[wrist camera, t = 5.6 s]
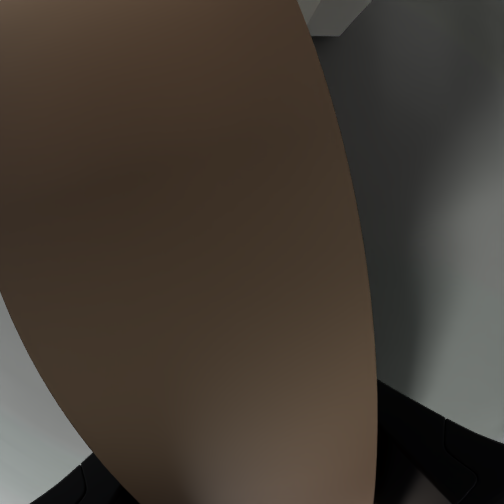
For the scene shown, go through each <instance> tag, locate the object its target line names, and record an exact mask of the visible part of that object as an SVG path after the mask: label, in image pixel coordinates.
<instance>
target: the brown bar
mask: <svg viewBox="0 0 504 504" xmlns="http://www.w3.org/2000/svg"><path fill="white" fill-rule="evenodd" d="M0 292H1V295H2V297H3V300H4V302H5V305H6V307H7V309H8V312H9V314H10V316H11V319H12V321H13V323H14V325H15V328H16V330H17V332H18V334H19V336H20V338H21V340H22V342H23V344H24V346H25V348H26V350H27V352H28V354H29V356H30V358H31V360H32V362H33V363H34V365H35V367H36V369H37V371H38V372H39V374H40V376H41V378H42V379H43V381H44V383H45V384H46V386H47V388H48V389H49V391H50V393H51V394H52V396H53V397H54V399H55V400H56V402H57V403H58V405H59V407H60V408H61V410H62V411H63V412H64V414H65V415H66V417H67V418H68V420H69V421H70V423H71V424H72V425H73V427H74V428H75V429H76V431H77V432H78V434H79V435H80V436H81V438H82V439H83V440H84V441H85V443H86V444H87V445H88V447H89V448H90V449H91V450H92V452H93V453H94V454H95V455H96V456H97V458H98V459H99V460H100V461H101V462H102V464H103V465H104V466H105V467H106V468H107V469H108V470H109V472H110V473H111V474H112V475H113V476H114V477H115V478H116V479H117V480H118V481H119V483H120V484H121V485H122V486H123V487H124V488H125V489H126V490H127V491H128V492H129V493H130V494H131V495H132V496H133V497H134V498H135V499H136V500H137V501H138V502H139V503H140V504H373V501H374V490H375V476H376V458H377V373H376V354H375V339H374V326H373V315H372V305H371V295H370V287H369V279H368V271H367V264H366V257H365V250H364V243H363V237H362V231H361V225H360V219H359V214H358V209H357V203H356V198H355V193H354V188H353V183H352V179H351V174H350V169H349V165H348V161H347V156H346V152H345V148H344V144H343V140H342V136H341V132H340V128H339V124H338V121H337V117H336V113H335V110H334V106H333V103H332V99H331V96H330V92H329V89H328V86H327V83H326V79H325V76H324V73H323V70H322V67H321V64H320V61H319V58H318V55H317V52H316V49H315V46H314V43H313V41H312V38H311V35H310V32H309V30H308V27H307V24H306V22H305V19H304V17H303V14H302V11H301V9H300V6H299V4H298V2H297V0H0Z"/></svg>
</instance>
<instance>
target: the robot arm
mask: <svg viewBox="0 0 504 504" xmlns="http://www.w3.org/2000/svg"><path fill="white" fill-rule="evenodd" d="M30 504H140V503H139V502H138V501H137V500H136V499H135V498H134V497H133V496H132V495H131V494H130V493H129V492H128V491H127V490H126V489H125V488H124V487H123V486H122V485H121V484H120V483H119V481H118V480H117V479H116V478H115V477H114V476H113V475H112V474H111V473H110V472H109V470H108V469H107V468H106V467H105V466H104V465H103V464H102V462H101V461H100V460H99V459H98V458H97V456H96V455H95V454H94V453H92V454H91V455H90V456H88V457H87V458H86V459H85V460H84V461H83V462H82V463H81V465H78V466H77V467H76V468H75V469H74V470H73V471H72V472H71V473H70V474H68V475H67V476H66V477H65V478H64V479H62V480H61V481H60V482H59V483H58V484H56V485H55V486H54V487H53V488H51V489H50V490H48V491H47V492H46V493H44V494H43V495H42V496H40V497H39V498H37V499H36V500H34V501H33V502H31V503H30ZM373 504H504V444H503V443H500V442H497V441H495V440H492V439H490V438H487V437H485V436H482V435H480V434H477V433H475V432H473V431H471V430H469V429H467V428H465V427H463V426H461V425H459V424H457V423H455V422H453V421H451V420H449V419H446V420H445V417H443V416H441V415H440V414H438V413H436V412H434V411H432V410H430V409H429V408H427V407H425V406H423V405H421V404H420V403H418V402H416V401H414V400H413V399H411V398H409V397H407V396H405V395H404V394H402V393H400V392H398V391H397V390H395V389H393V388H391V387H390V386H388V385H386V384H384V383H383V382H381V381H379V380H378V379H377V458H376V476H375V490H374V501H373Z"/></svg>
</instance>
